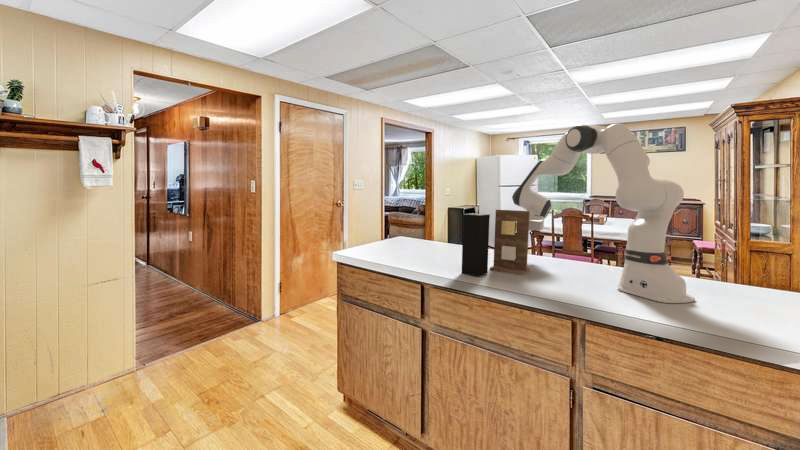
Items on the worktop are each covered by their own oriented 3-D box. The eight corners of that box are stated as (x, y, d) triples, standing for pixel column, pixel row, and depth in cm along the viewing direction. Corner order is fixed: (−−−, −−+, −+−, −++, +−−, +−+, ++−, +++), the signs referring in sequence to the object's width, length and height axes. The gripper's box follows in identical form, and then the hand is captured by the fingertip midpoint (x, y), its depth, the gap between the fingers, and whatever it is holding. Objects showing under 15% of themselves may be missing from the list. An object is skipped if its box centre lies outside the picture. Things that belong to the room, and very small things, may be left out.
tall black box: (487, 273, 150) (490, 206, 147) (477, 277, 144) (480, 207, 141) (471, 270, 155) (473, 205, 152) (461, 273, 150) (463, 206, 147)
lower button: (506, 256, 160) (507, 243, 159) (519, 257, 157) (519, 245, 156) (501, 258, 154) (501, 246, 154) (514, 260, 151) (515, 247, 150)
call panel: (497, 266, 164) (500, 208, 161) (529, 270, 156) (532, 210, 153) (489, 270, 156) (492, 210, 153) (522, 275, 148) (525, 211, 145)
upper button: (506, 232, 157) (506, 219, 157) (519, 233, 154) (519, 220, 153) (501, 233, 152) (501, 220, 151) (514, 235, 148) (515, 221, 148)
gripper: (502, 213, 176) (493, 215, 164) (547, 216, 164) (540, 218, 153) (502, 226, 177) (492, 229, 165) (546, 230, 165) (539, 233, 154)
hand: (515, 224), depth 159 cm, fingers closed
